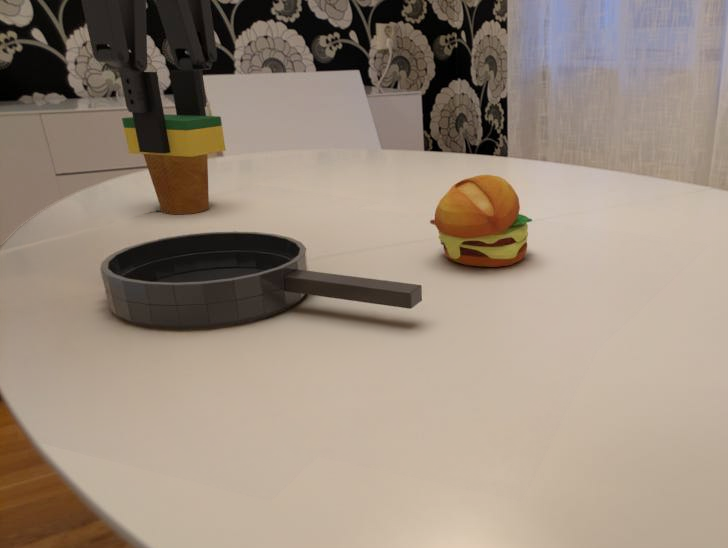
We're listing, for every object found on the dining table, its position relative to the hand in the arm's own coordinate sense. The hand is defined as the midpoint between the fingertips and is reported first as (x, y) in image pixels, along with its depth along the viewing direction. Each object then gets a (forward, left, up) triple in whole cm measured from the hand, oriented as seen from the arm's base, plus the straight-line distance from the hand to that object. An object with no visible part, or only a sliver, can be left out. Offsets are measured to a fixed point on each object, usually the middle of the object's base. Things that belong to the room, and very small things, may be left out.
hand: (176, 148), depth 61 cm
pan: (+5, -3, -13) cm, 14 cm away
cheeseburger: (+24, +18, -13) cm, 32 cm away
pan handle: (+19, -3, -11) cm, 22 cm away
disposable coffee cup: (-24, +26, -13) cm, 38 cm away
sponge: (0, 0, 0) cm, 0 cm away
